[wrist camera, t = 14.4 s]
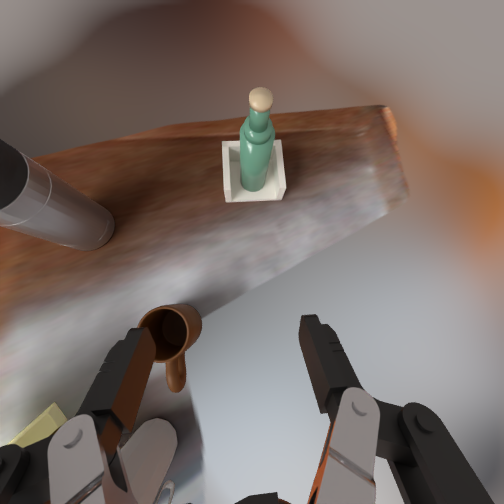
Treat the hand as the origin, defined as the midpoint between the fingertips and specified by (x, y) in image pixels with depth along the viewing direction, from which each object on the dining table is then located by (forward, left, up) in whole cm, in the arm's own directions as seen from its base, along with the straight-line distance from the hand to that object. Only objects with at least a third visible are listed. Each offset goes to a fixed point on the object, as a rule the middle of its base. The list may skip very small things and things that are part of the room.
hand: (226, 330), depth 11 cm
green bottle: (-5, +25, -28) cm, 38 cm away
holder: (-5, +26, -29) cm, 39 cm away
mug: (-8, -7, -29) cm, 31 cm away
